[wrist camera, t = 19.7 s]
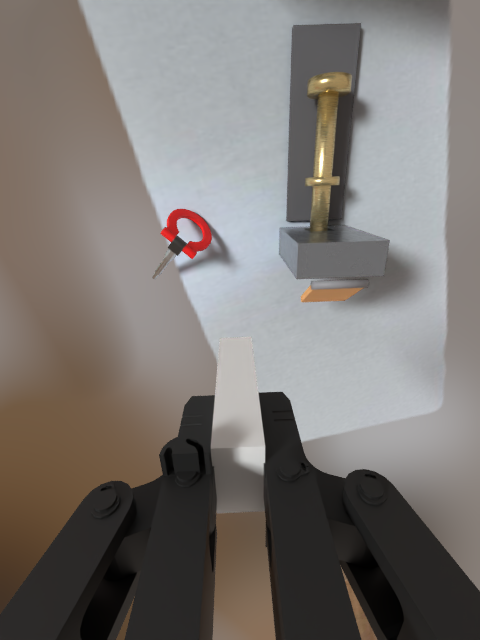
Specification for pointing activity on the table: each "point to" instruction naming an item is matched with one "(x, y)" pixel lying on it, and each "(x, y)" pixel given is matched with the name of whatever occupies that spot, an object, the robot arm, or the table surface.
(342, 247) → the grey rectangular plate
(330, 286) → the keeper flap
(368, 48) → the table surface
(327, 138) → the gold metal bolt
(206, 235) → the tow hook
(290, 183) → the mat
